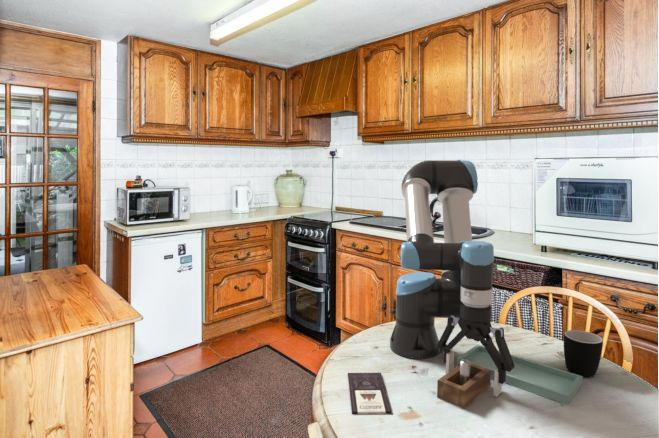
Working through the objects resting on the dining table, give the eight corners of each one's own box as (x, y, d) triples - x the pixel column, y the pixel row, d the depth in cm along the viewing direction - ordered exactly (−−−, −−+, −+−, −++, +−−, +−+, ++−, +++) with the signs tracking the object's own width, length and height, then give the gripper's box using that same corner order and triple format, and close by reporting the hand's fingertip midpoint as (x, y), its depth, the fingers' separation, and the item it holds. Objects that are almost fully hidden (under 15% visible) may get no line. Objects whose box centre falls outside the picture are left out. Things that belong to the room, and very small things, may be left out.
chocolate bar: (380, 372, 111) (391, 411, 93) (380, 375, 111) (391, 415, 93) (347, 372, 111) (351, 411, 93) (347, 376, 111) (351, 415, 93)
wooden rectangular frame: (437, 397, 99) (437, 380, 99) (467, 374, 110) (467, 358, 110) (464, 409, 94) (464, 390, 94) (492, 384, 105) (493, 367, 105)
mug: (607, 381, 106) (610, 344, 105) (570, 379, 108) (572, 342, 106) (585, 360, 118) (587, 326, 117) (552, 358, 119) (554, 325, 118)
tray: (456, 365, 115) (457, 358, 115) (477, 351, 125) (477, 344, 124) (567, 405, 96) (567, 396, 95) (582, 384, 105) (582, 376, 105)
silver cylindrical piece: (455, 391, 102) (456, 361, 101) (461, 387, 104) (462, 357, 103) (467, 396, 99) (468, 365, 98) (473, 391, 102) (474, 361, 101)
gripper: (425, 296, 108) (423, 373, 111) (520, 319, 91) (515, 409, 93) (439, 290, 113) (437, 364, 116) (532, 311, 96) (527, 397, 99)
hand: (472, 384), depth 105 cm, fingers open, 12 cm apart
